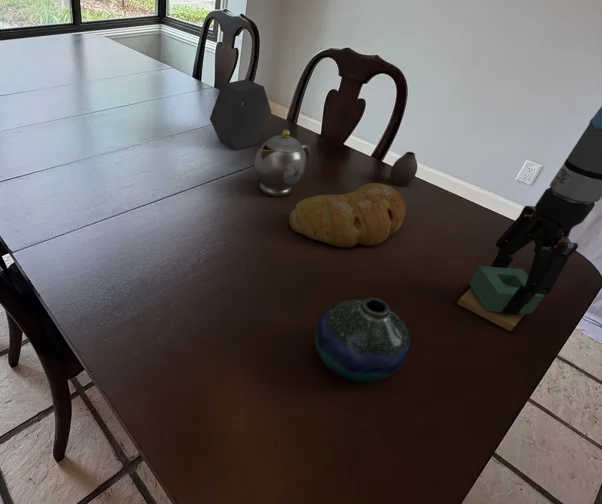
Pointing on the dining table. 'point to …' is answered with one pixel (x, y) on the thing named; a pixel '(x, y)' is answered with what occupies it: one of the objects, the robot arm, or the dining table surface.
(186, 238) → the dining table surface
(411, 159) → the vase
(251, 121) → the planter
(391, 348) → the vase
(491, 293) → the green block with hole
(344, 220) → the bread
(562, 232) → the robot arm
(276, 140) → the teapot
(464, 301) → the wooden peg base
